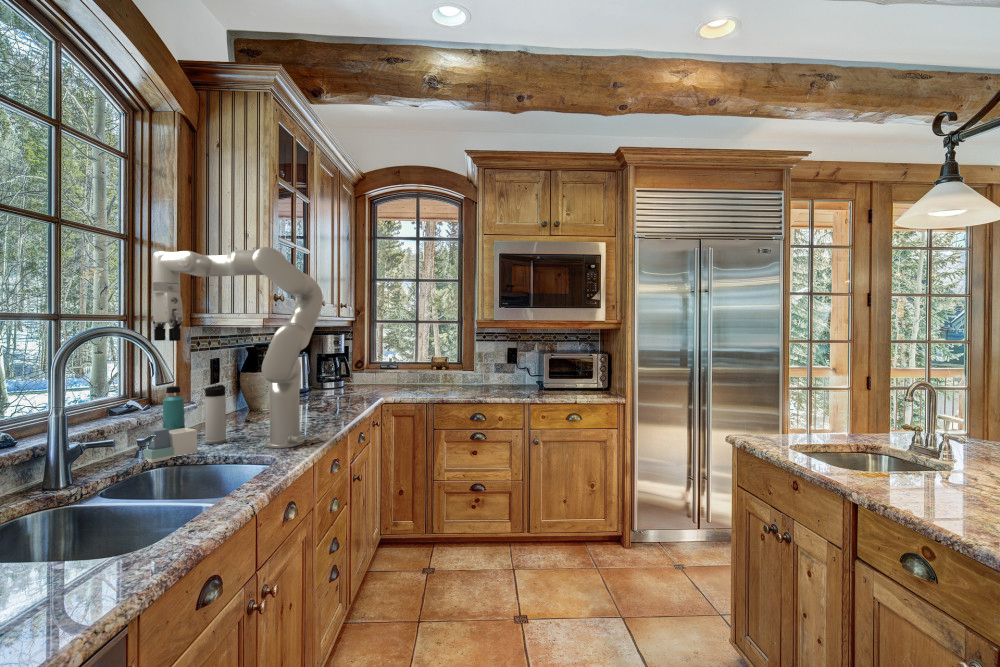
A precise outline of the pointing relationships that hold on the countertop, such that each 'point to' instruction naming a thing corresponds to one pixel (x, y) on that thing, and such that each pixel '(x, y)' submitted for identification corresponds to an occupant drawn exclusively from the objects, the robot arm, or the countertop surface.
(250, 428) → the countertop surface
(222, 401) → the travel mug
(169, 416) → the beverage bottle
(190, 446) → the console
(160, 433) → the grey rectangular block
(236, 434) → the countertop surface
